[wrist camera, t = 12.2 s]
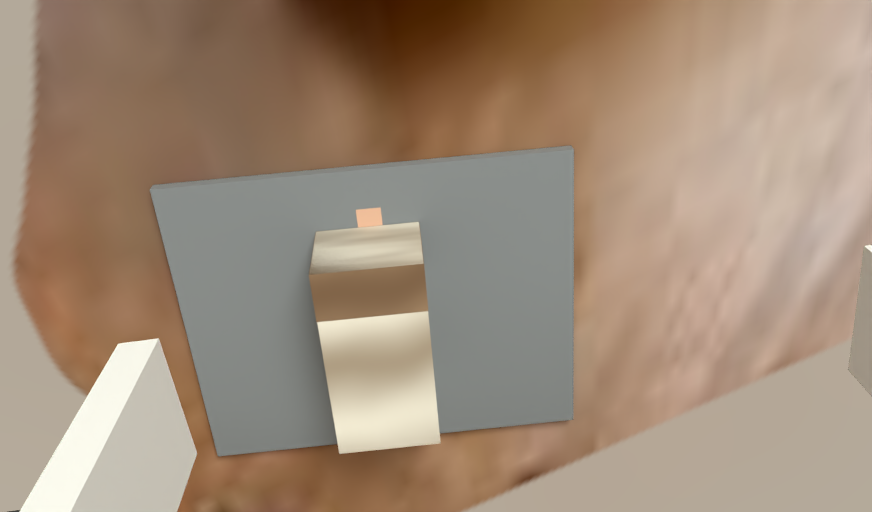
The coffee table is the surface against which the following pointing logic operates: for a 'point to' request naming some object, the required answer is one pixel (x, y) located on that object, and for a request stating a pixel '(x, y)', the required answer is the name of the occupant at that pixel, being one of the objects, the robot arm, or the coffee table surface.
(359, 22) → the coffee table surface
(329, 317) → the cream block
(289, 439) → the mat
